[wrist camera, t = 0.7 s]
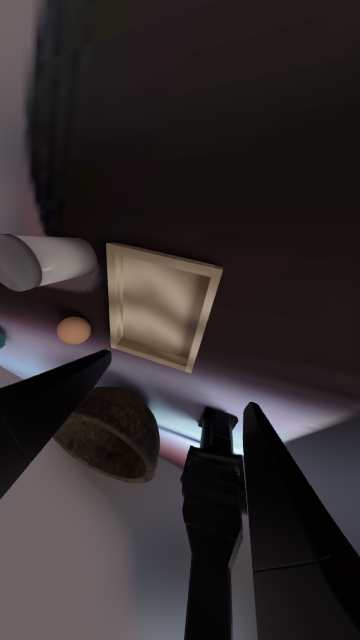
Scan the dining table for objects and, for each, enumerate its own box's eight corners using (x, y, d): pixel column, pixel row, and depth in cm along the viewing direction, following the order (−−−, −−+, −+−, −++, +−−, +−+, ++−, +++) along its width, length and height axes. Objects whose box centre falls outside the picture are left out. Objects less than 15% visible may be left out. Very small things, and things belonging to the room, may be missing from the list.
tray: (193, 362, 26) (190, 373, 24) (119, 339, 28) (111, 347, 26) (222, 266, 19) (222, 269, 16) (118, 243, 20) (106, 243, 18)
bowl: (134, 354, 29) (97, 402, 20) (189, 427, 35) (178, 488, 26) (71, 378, 38) (26, 418, 29) (123, 432, 44) (99, 479, 35)
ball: (98, 338, 29) (77, 353, 25) (76, 331, 30) (52, 345, 26) (95, 316, 27) (72, 329, 23) (72, 309, 28) (45, 321, 23)
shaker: (99, 278, 24) (35, 296, 16) (69, 270, 24) (-6, 284, 16) (96, 241, 21) (19, 239, 13) (63, 233, 22) (-29, 228, 14)
